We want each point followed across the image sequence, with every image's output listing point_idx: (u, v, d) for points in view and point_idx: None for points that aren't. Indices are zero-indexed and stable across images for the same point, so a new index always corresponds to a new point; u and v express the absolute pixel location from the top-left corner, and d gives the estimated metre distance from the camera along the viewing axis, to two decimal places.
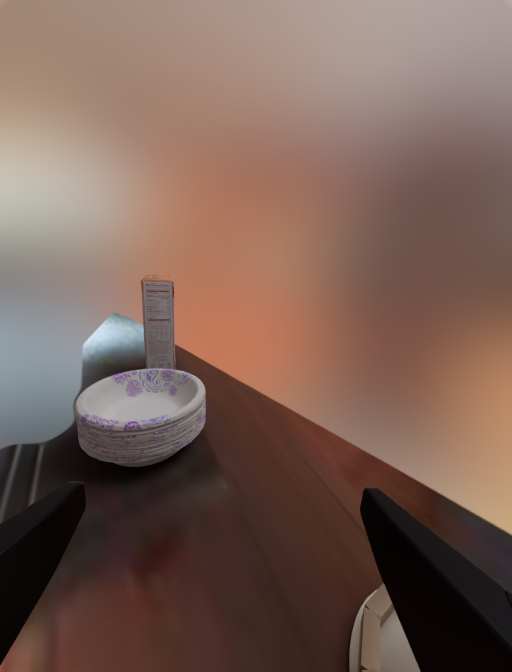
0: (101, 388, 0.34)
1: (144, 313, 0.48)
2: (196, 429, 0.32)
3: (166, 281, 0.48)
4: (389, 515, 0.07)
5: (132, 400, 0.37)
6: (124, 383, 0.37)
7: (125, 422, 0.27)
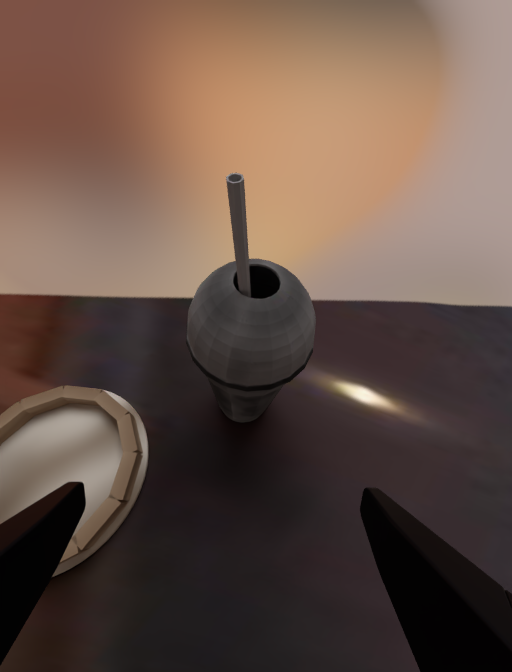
0: None
1: None
2: None
3: None
4: (389, 515, 0.07)
5: None
6: None
7: None
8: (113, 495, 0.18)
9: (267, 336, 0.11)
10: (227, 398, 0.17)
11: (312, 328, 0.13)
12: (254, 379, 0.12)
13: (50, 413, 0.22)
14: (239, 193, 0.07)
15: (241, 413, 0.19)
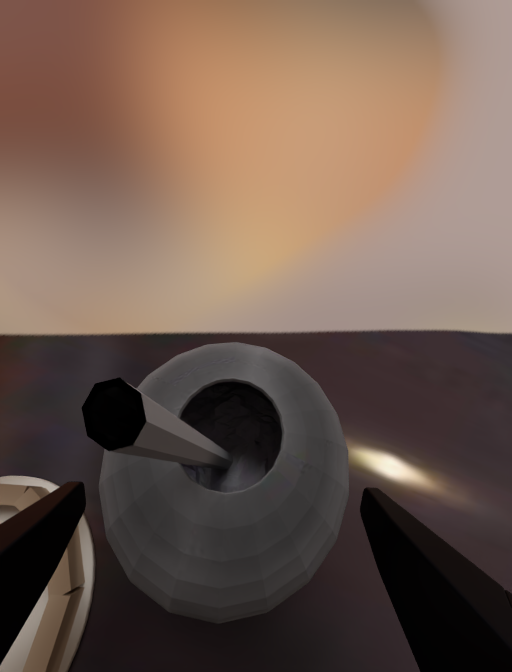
0: None
1: None
2: None
3: None
4: (389, 515, 0.07)
5: None
6: None
7: None
8: None
9: (255, 572, 0.05)
10: None
11: (347, 495, 0.06)
12: None
13: None
14: None
15: None
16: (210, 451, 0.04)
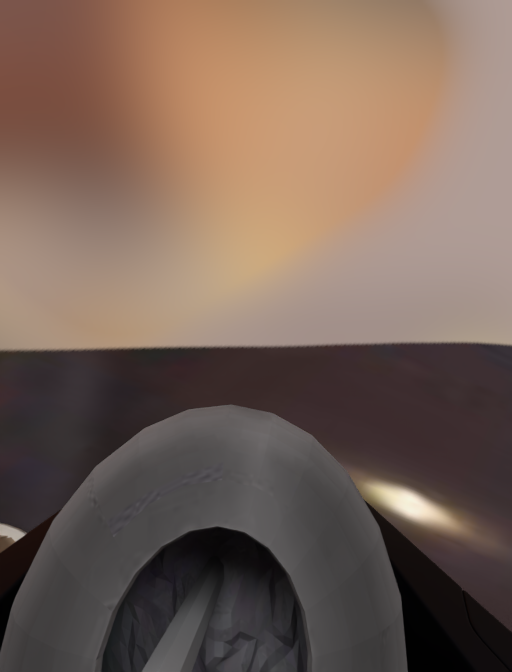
0: None
1: None
2: None
3: None
4: None
5: None
6: None
7: None
8: None
9: None
10: None
11: None
12: None
13: None
14: None
15: None
16: None
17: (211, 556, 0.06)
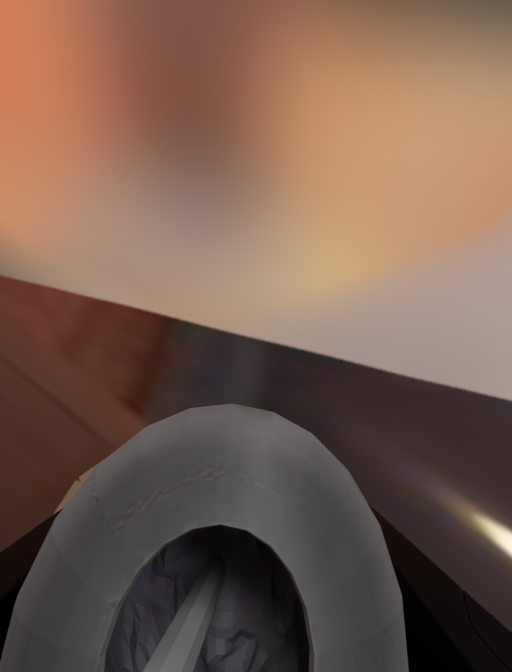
0: None
1: None
2: None
3: None
4: None
5: None
6: None
7: None
8: None
9: None
10: None
11: None
12: None
13: None
14: None
15: None
16: None
17: (212, 554, 0.06)
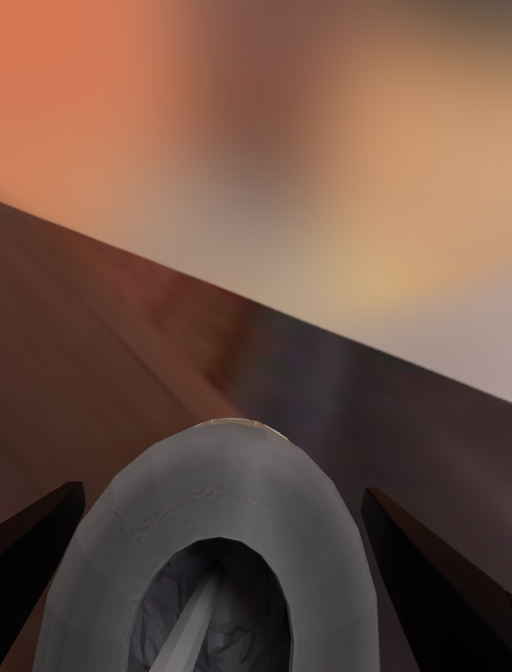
0: None
1: None
2: None
3: None
4: (389, 515, 0.07)
5: None
6: None
7: None
8: None
9: None
10: None
11: None
12: None
13: None
14: None
15: None
16: None
17: (212, 558, 0.07)
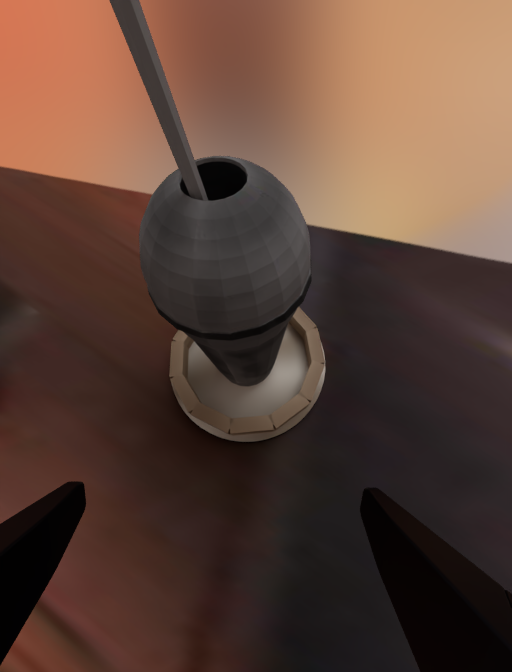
0: None
1: None
2: None
3: None
4: (389, 515, 0.07)
5: None
6: None
7: None
8: (303, 394, 0.19)
9: (239, 253, 0.08)
10: (219, 358, 0.14)
11: (304, 241, 0.09)
12: (236, 321, 0.09)
13: None
14: None
15: (242, 374, 0.17)
16: (200, 177, 0.07)
17: None
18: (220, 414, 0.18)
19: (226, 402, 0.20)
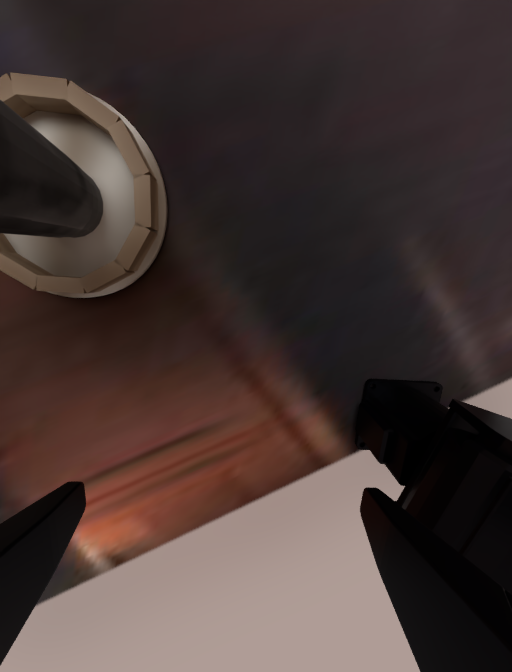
0: None
1: None
2: None
3: None
4: (389, 515, 0.07)
5: None
6: None
7: None
8: (137, 173, 0.16)
9: None
10: None
11: None
12: None
13: None
14: None
15: (62, 214, 0.14)
16: None
17: None
18: (104, 267, 0.17)
19: (102, 255, 0.18)
